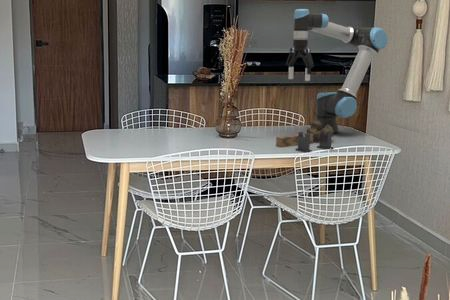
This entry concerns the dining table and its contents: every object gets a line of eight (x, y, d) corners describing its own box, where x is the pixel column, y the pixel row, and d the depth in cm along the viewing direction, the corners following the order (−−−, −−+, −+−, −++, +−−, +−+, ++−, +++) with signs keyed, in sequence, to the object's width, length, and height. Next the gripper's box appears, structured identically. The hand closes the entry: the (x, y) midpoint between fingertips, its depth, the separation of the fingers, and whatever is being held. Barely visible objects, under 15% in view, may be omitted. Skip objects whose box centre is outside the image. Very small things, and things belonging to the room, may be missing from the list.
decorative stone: (319, 133, 303) (302, 119, 313) (314, 151, 309) (297, 137, 319) (342, 130, 311) (325, 116, 321) (337, 147, 317) (320, 133, 327)
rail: (308, 142, 311) (308, 133, 310) (312, 143, 308) (313, 134, 307) (276, 146, 299) (276, 137, 298) (280, 147, 296) (280, 138, 295)
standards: (323, 146, 299) (324, 129, 297) (333, 149, 293) (334, 131, 291) (295, 150, 289) (296, 132, 287) (304, 152, 283) (305, 134, 281)
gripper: (280, 38, 320) (278, 78, 324) (310, 39, 300) (309, 81, 304) (291, 39, 324) (289, 78, 328) (322, 39, 304) (320, 81, 308)
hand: (299, 79), depth 316 cm, fingers open, 13 cm apart
